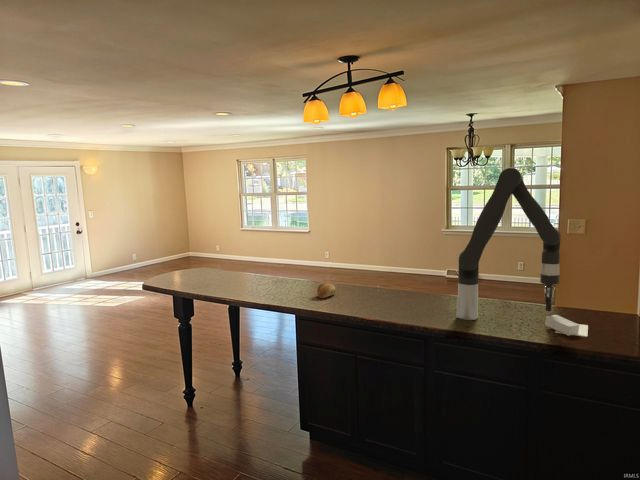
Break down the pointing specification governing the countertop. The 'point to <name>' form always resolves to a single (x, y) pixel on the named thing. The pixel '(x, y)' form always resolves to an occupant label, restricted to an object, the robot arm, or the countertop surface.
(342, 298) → the countertop surface
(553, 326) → the skincare box
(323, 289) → the bread roll
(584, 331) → the mat
